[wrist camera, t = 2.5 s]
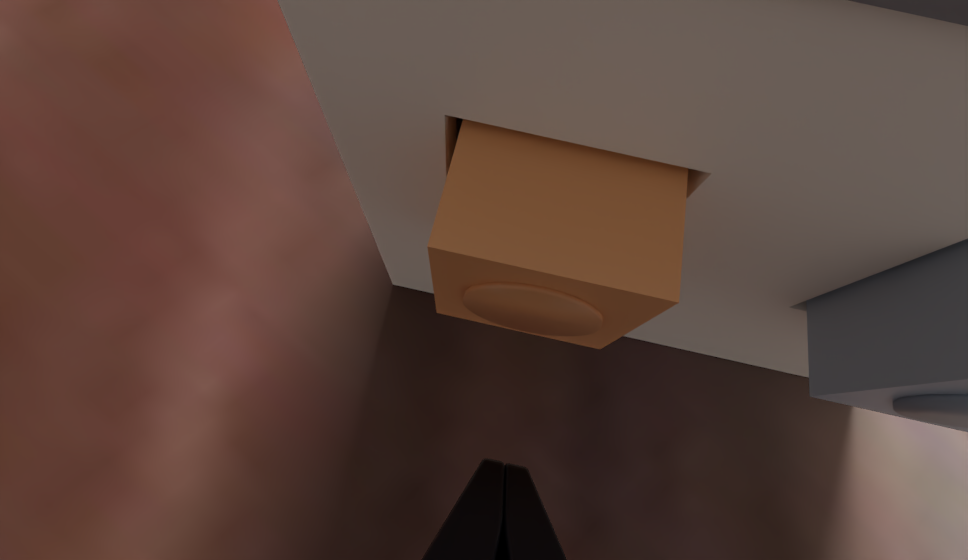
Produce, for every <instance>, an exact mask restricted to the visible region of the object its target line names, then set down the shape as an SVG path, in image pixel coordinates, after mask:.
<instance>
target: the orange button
mask: <svg viewBox="0 0 968 560" xmlns="http://www.w3.org/2000/svg"><path fill="white" fill-rule="evenodd" d="M687 181H688V168H685V167H680V166H676V165H671V164H667V163H662V162H658V161H653V160H648V159H644V158H639V157H635V156H630V155H626V154H621V153H617V152H612V151H607V150H603V149H598V148H594V147H589V146H585V145H580V144H576V143H571V142H566V141H562V140H557V139H553V138H548V137H544V136H539V135H535V134H530V133H525V132H521V131H516V130H512V129H507V128H503V127H498V126H494V125H489V124H484V123H480V122H475V121H471V120H466V119H463V121H462V125H461V128H460V132H459V135H458V139H457V142H456V146H455V149H454V153H453V157H452V160H451V164H450V167H449V171H448V174H447V178H446V181H445V185H444V189H443V192H442V196H441V199H440V203H439V206H438V210H437V213H436V217H435V221H434V224H433V228H432V231H431V235H430V238H429V242H428V246H427V248H428V255H429V262H430V269H431V276H432V283H433V290H434V297H435V305H436V312H437V313H440V314H444V315H448V316H453V317H457V318H462V319H466V320H471V321H475V322H480V323H484V324H489V325H493V326H497V327H502V328H506V329H511V330H515V331H520V332H524V333H529V334H533V335H538V336H542V337H546V338H551V339H555V340H560V341H564V342H569V343H573V344H578V345H582V346H587V347H591V348H595V349H602V348H603V347H605V346H607V345H608V344H610V343H612V342H613V341H615V340H617V339H618V338H620V337H622V336H624V335H625V334H627V333H629V332H630V331H632V330H634V329H635V328H637V327H639V326H640V325H642V324H644V323H646V322H647V321H649V320H651V319H652V318H654V317H656V316H657V315H659V314H661V313H662V312H664V311H666V310H667V309H669V308H671V307H673V306H674V305H676V304H678V303H679V298H680V283H681V269H682V254H683V239H684V225H685V210H686V195H687Z"/></svg>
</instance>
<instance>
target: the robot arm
mask: <svg viewBox="0 0 968 560" xmlns="http://www.w3.org/2000/svg"><path fill="white" fill-rule="evenodd" d="M422 560H567V559H566V557H565V554H564V552H563V550H562V548H561V545H560V543H559V541H558V538H557V536H556V534H555V531H554V529H553V527H552V524H551V522H550V520H549V517H548V515H547V513H546V510H545V508H544V506H543V503H542V501H541V499H540V497H539V494H538V492H537V490H536V487H535V485H534V483H533V480H532V478H531V476H530V473H529V471H528V469H527V468H526V467H523V466H519V465H515V464H510V463H508V464H506V465H504V463H503V462H501V461H497V460H492V459H488V458H485V459H483V460H482V462H481V463H480V465H479V467H478V468H477V470H476V471H475V473H474V475H473V476H472V478H471V480H470V481H469V483H468V485H467V486H466V488H465V489H464V491H463V493H462V494H461V496H460V498H459V499H458V501H457V503H456V504H455V506H454V507H453V509H452V511H451V512H450V514H449V516H448V517H447V519H446V521H445V522H444V524H443V525H442V527H441V529H440V530H439V532H438V534H437V535H436V537H435V539H434V540H433V542H432V543H431V545H430V547H429V548H428V550H427V552H426V553H425V555H424V556H423V558H422Z"/></svg>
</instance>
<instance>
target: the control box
mask: <svg viewBox="0 0 968 560" xmlns="http://www.w3.org/2000/svg"><path fill="white" fill-rule="evenodd" d="M278 3H279V5H280V8H281V10H282V13H283V15H284V18H285V20H286V22H287V25H288V27H289V30H290V32H291V35H292V37H293V40H294V42H295V45H296V47H297V50H298V52H299V55H300V57H301V59H302V62H303V64H304V67H305V69H306V72H307V74H308V77H309V79H310V82H311V84H312V87H313V89H314V92H315V94H316V96H317V99H318V101H319V104H320V106H321V109H322V111H323V114H324V116H325V119H326V121H327V124H328V126H329V128H330V131H331V133H332V136H333V138H334V141H335V143H336V146H337V148H338V151H339V153H340V156H341V158H342V161H343V163H344V165H345V168H346V170H347V173H348V175H349V178H350V180H351V183H352V185H353V188H354V190H355V193H356V195H357V198H358V200H359V202H360V205H361V207H362V210H363V212H364V215H365V217H366V220H367V222H368V225H369V227H370V230H371V232H372V234H373V237H374V239H375V242H376V244H377V247H378V249H379V252H380V254H381V257H382V259H383V262H384V264H385V267H386V269H387V271H388V274H389V276H390V279H391V281H392V284H393V285H397V286H402V287H406V288H411V289H415V290H420V291H424V292H429V293H433V294H434V290H433V283H432V276H431V269H430V262H429V255H428V248H427V246H428V242H429V238H430V235H431V231H432V228H433V224H434V221H435V217H436V213H437V210H438V206H439V203H440V199H441V196H442V192H443V189H444V185H445V181H446V178H447V174H448V171H449V167H450V164H451V160H452V157H453V153H454V149H455V146H456V142H457V139H458V135H459V132H460V128H461V125H462V121H463V119H466V120H471V121H475V122H480V123H484V124H489V125H494V126H498V127H503V128H507V129H512V130H516V131H521V132H525V133H530V134H535V135H539V136H544V137H548V138H553V139H557V140H562V141H566V142H571V143H576V144H580V145H585V146H589V147H594V148H598V149H603V150H607V151H612V152H617V153H621V154H626V155H630V156H635V157H639V158H644V159H648V160H653V161H658V162H662V163H667V164H671V165H676V166H680V167H685V168H688V181H687V195H686V210H685V225H684V239H683V254H682V269H681V283H680V298H679V303H678V304H676V305H674V306H673V307H671V308H669V309H667V310H666V311H664V312H662V313H661V314H659V315H657V316H656V317H654V318H652V319H651V320H649V321H647V322H646V323H644V324H642V325H640V326H639V327H637V328H635V329H634V330H632V331H630V332H629V333H627V334H625V335H624V336H625V337H630V338H634V339H639V340H643V341H647V342H652V343H656V344H661V345H665V346H670V347H674V348H679V349H683V350H688V351H692V352H697V353H701V354H705V355H710V356H714V357H719V358H723V359H728V360H732V361H737V362H741V363H746V364H750V365H755V366H759V367H763V368H768V369H772V370H777V371H781V372H786V373H790V374H795V375H799V376H804V377H808V378H809V365H808V335H807V305H806V300H809V299H812V298H814V297H817V296H819V295H822V294H825V293H827V292H830V291H832V290H835V289H838V288H840V287H843V286H845V285H848V284H851V283H853V282H856V281H858V280H861V279H864V278H866V277H869V276H871V275H874V274H877V273H879V272H882V271H885V270H887V269H890V268H892V267H895V266H898V265H900V264H903V263H905V262H908V261H911V260H913V259H916V258H918V257H921V256H924V255H926V254H929V253H931V252H934V251H937V250H939V249H942V248H944V247H947V246H950V245H952V244H955V243H957V242H960V241H963V240H965V239H968V0H278Z"/></svg>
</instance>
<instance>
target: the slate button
mask: <svg viewBox="0 0 968 560" xmlns="http://www.w3.org/2000/svg"><path fill="white" fill-rule="evenodd" d="M806 305H807V335H808V365H809V396H810V397H814V398H818V399H823V400H827V401H832V402H836V403H840V404H845V405H849V406H854V407H858V408H863V409H867V410H872V411H876V412H881V413H885V414H889V415H894V416H898V417H903V418H907V419H912V420H916V421H921V422H925V423H930V424H934V425H938V426H943V427H947V428H952V429H956V430H961V431H965V432H968V239H965V240H963V241H960V242H957V243H955V244H952V245H950V246H947V247H944V248H942V249H939V250H937V251H934V252H931V253H929V254H926V255H924V256H921V257H918V258H916V259H913V260H911V261H908V262H905V263H903V264H900V265H898V266H895V267H892V268H890V269H887V270H885V271H882V272H879V273H877V274H874V275H871V276H869V277H866V278H864V279H861V280H858V281H856V282H853V283H851V284H848V285H845V286H843V287H840V288H838V289H835V290H832V291H830V292H827V293H825V294H822V295H819V296H817V297H814V298H812V299H809V300H806Z"/></svg>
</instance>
